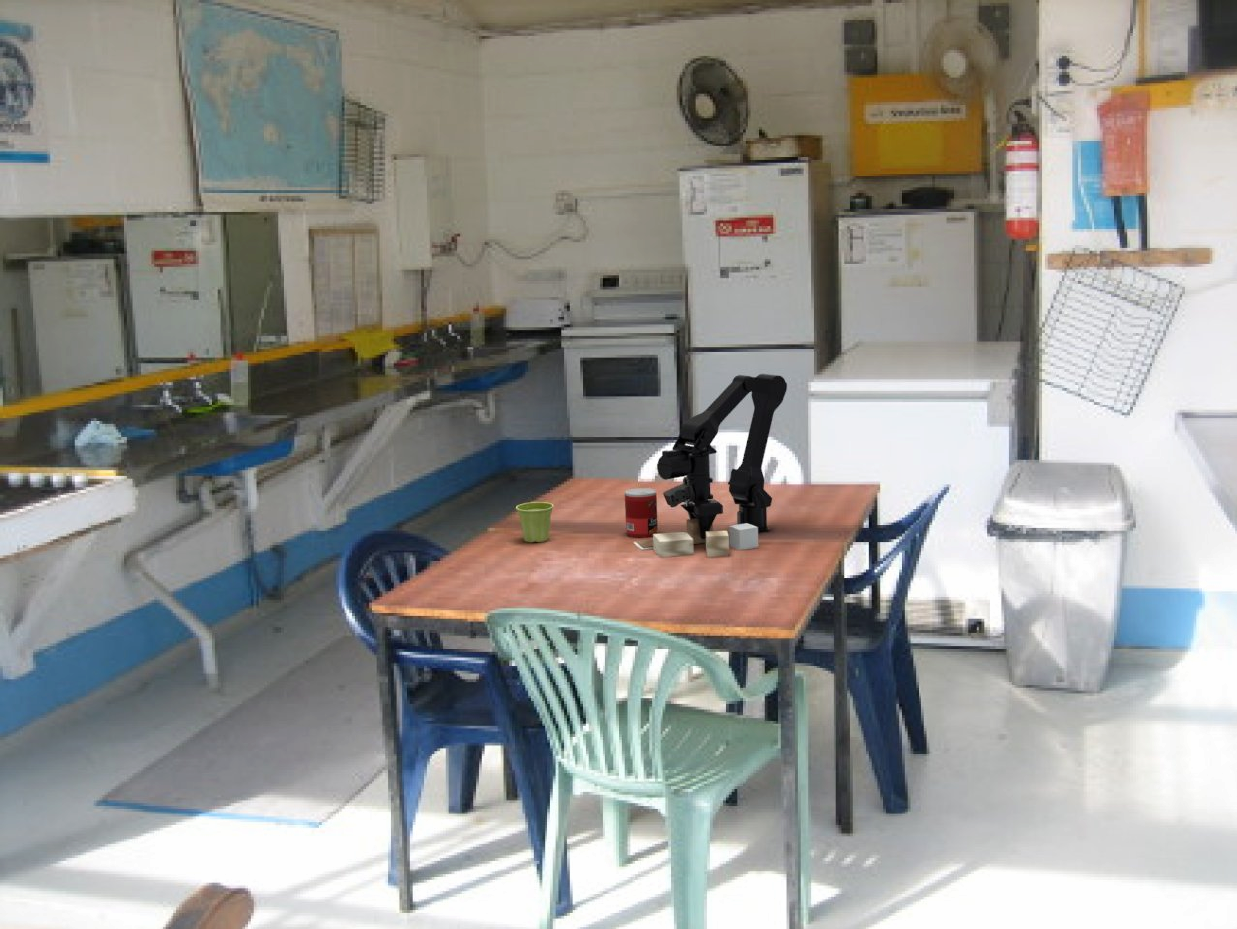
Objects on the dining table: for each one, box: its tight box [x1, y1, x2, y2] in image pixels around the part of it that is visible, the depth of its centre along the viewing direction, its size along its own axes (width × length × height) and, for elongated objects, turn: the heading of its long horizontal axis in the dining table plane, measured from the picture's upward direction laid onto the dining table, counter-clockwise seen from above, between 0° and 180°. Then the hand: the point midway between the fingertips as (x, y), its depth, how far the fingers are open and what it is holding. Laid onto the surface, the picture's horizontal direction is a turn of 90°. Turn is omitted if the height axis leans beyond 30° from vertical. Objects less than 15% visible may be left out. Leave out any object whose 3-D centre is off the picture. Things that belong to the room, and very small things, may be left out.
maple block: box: [705, 530, 730, 558], centre depth 311 cm, size 5×5×5 cm
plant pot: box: [515, 501, 555, 543], centre depth 331 cm, size 9×9×9 cm
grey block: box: [728, 523, 759, 551], centre depth 316 cm, size 5×5×5 cm
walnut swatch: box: [633, 539, 654, 551], centre depth 321 cm, size 7×7×1 cm
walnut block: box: [685, 518, 714, 545], centre depth 323 cm, size 5×5×5 cm
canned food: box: [624, 487, 659, 538], centre depth 332 cm, size 8×8×11 cm
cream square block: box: [652, 531, 695, 558], centre depth 314 cm, size 8×8×4 cm
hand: (699, 536), depth 323 cm, fingers closed on walnut block, 5 cm apart
